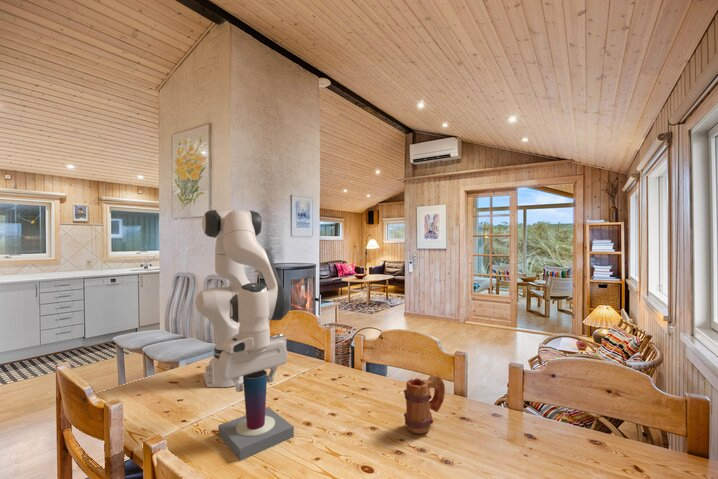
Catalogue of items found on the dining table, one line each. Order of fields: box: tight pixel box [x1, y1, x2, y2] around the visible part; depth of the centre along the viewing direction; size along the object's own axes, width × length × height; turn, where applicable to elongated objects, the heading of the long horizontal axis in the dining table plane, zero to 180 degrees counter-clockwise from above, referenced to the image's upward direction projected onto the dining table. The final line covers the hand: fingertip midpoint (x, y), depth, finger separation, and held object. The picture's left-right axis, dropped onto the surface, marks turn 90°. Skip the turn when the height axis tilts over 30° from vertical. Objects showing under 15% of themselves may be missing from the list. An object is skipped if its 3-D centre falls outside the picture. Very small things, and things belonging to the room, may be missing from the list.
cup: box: [242, 369, 268, 430], centre depth 100 cm, size 7×7×15 cm
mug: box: [403, 373, 446, 434], centre depth 104 cm, size 15×8×15 cm, turn 117°
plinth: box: [217, 407, 295, 461], centre depth 100 cm, size 16×16×3 cm
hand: (255, 386), depth 100 cm, fingers open, 8 cm apart
